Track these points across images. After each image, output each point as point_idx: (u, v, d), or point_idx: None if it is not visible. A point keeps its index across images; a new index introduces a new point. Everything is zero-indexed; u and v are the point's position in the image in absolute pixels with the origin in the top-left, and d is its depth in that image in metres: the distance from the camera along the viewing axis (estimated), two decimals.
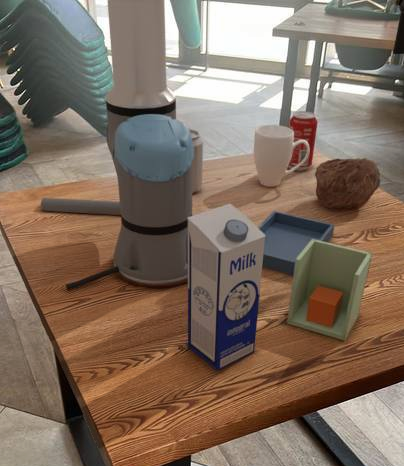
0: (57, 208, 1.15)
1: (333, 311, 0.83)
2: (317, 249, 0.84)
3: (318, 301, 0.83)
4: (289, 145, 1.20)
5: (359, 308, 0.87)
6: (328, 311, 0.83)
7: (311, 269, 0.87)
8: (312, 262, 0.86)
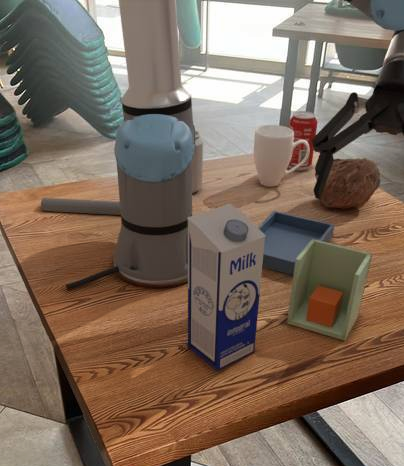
0: (57, 208, 1.15)
1: (333, 311, 0.83)
2: (317, 249, 0.84)
3: (318, 301, 0.83)
4: (289, 145, 1.20)
5: (359, 308, 0.87)
6: (328, 311, 0.83)
7: (311, 269, 0.87)
8: (312, 262, 0.86)
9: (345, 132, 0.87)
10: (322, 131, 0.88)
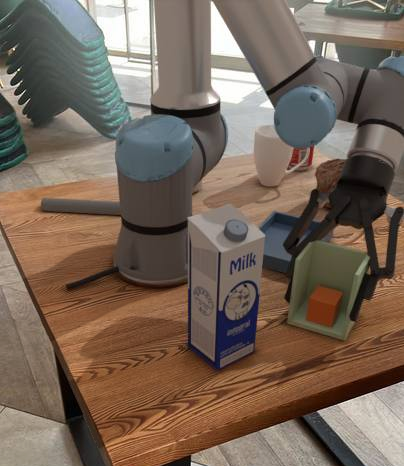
0: (57, 208, 1.15)
1: (333, 311, 0.83)
2: (317, 249, 0.84)
3: (318, 301, 0.83)
4: None
5: None
6: (328, 311, 0.83)
7: (311, 269, 0.87)
8: (312, 262, 0.86)
9: (314, 233, 0.83)
10: (291, 233, 0.84)
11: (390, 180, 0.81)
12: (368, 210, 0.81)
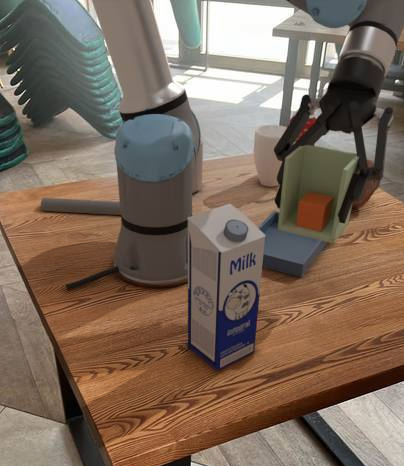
0: (57, 208, 1.15)
1: (322, 213, 0.84)
2: (307, 154, 0.85)
3: (307, 204, 0.84)
4: None
5: (349, 215, 0.88)
6: (318, 214, 0.84)
7: (302, 176, 0.88)
8: (303, 168, 0.87)
9: (304, 137, 0.84)
10: (282, 138, 0.85)
11: (380, 82, 0.82)
12: (357, 111, 0.82)
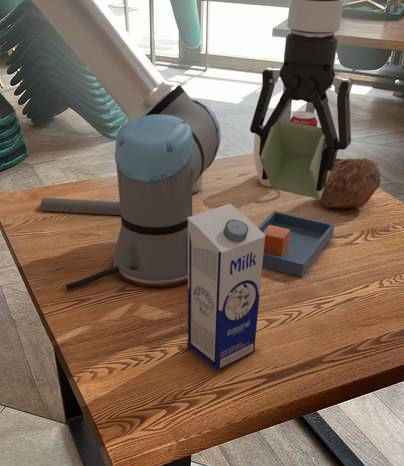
0: (57, 208, 1.15)
1: None
2: (281, 127, 0.93)
3: None
4: None
5: None
6: None
7: (282, 138, 0.96)
8: (281, 134, 0.95)
9: (273, 117, 0.91)
10: (255, 118, 0.93)
11: (332, 51, 0.82)
12: (315, 90, 0.86)
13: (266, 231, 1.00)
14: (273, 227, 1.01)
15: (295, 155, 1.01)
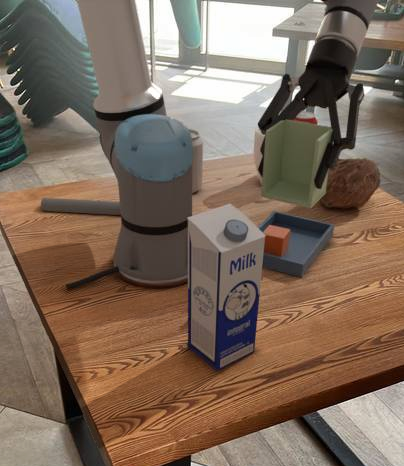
0: (57, 208, 1.15)
1: None
2: (288, 128, 0.95)
3: None
4: None
5: (326, 184, 0.97)
6: None
7: (283, 148, 0.97)
8: (284, 141, 0.96)
9: (284, 112, 0.94)
10: (265, 114, 0.95)
11: (351, 61, 0.91)
12: (331, 88, 0.91)
13: (266, 231, 1.00)
14: (273, 227, 1.01)
15: (289, 180, 1.00)
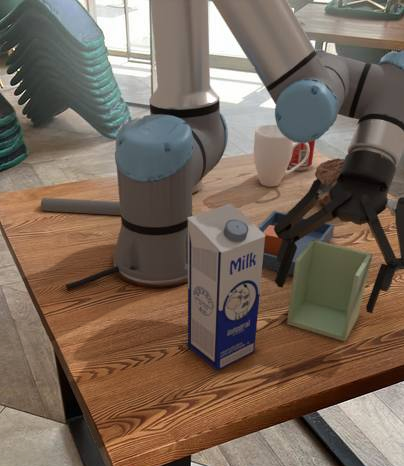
0: (57, 208, 1.15)
1: None
2: (317, 250, 0.84)
3: None
4: (289, 145, 1.20)
5: (359, 309, 0.87)
6: None
7: (311, 270, 0.86)
8: (312, 263, 0.86)
9: (308, 221, 0.84)
10: (284, 219, 0.85)
11: (391, 175, 0.81)
12: (370, 204, 0.80)
13: (266, 231, 1.00)
14: (273, 227, 1.01)
15: (316, 302, 0.89)
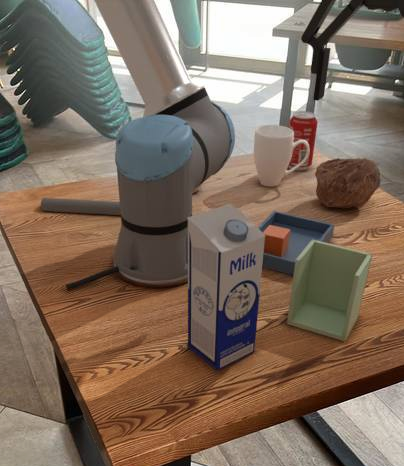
0: (57, 208, 1.15)
1: None
2: (317, 250, 0.84)
3: None
4: (289, 145, 1.20)
5: (359, 309, 0.87)
6: None
7: (311, 270, 0.86)
8: (312, 263, 0.86)
9: (335, 24, 0.78)
10: (310, 25, 0.79)
11: None
12: None
13: (266, 231, 1.00)
14: (273, 227, 1.01)
15: (316, 302, 0.89)
